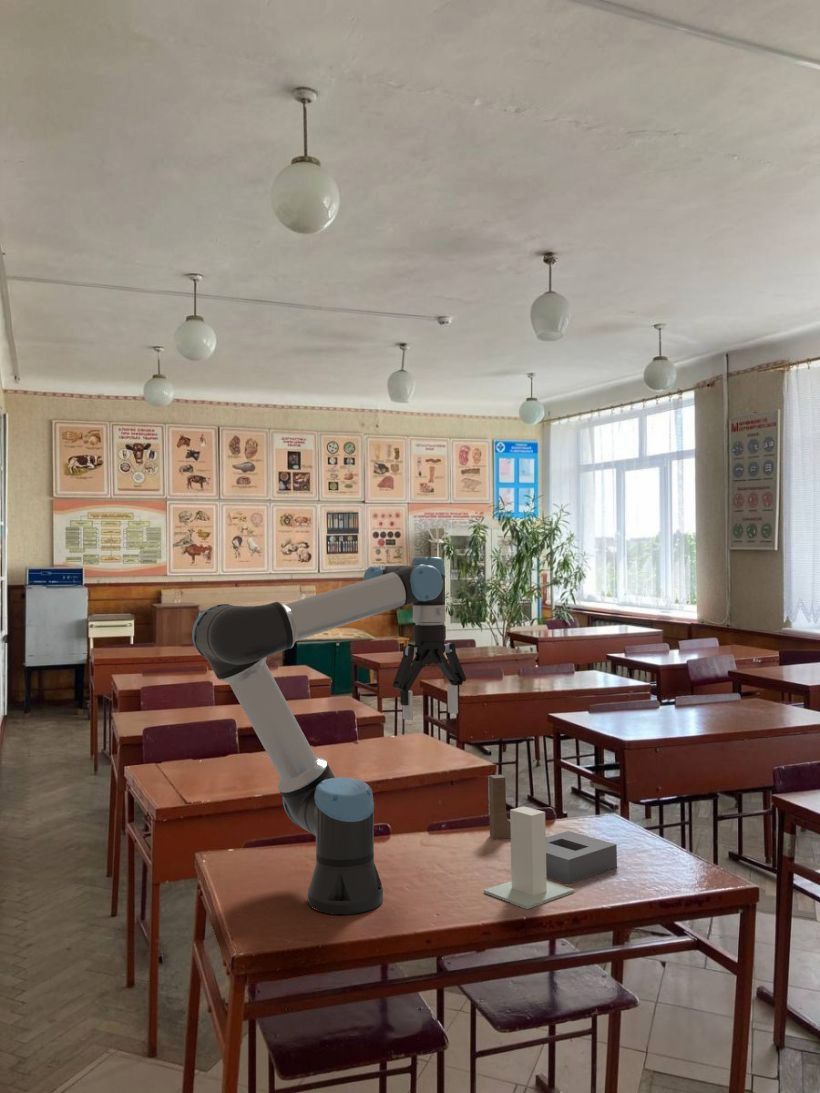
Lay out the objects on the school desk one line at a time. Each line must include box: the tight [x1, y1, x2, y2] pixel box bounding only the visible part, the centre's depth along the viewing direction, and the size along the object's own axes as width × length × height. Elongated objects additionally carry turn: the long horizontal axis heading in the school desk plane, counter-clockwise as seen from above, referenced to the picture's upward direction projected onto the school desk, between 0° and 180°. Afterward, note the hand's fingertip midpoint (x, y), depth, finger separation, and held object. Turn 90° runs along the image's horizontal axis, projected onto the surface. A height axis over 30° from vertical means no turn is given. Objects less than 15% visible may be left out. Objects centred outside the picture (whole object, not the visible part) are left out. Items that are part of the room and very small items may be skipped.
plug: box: [509, 806, 547, 896], centre depth 184 cm, size 4×6×16 cm, turn 39°
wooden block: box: [488, 774, 511, 840], centre depth 223 cm, size 7×3×15 cm, turn 106°
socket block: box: [546, 830, 618, 885], centre depth 199 cm, size 16×14×5 cm
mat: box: [483, 879, 575, 910], centre depth 184 cm, size 14×12×1 cm
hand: (430, 716), depth 207 cm, fingers open, 13 cm apart
